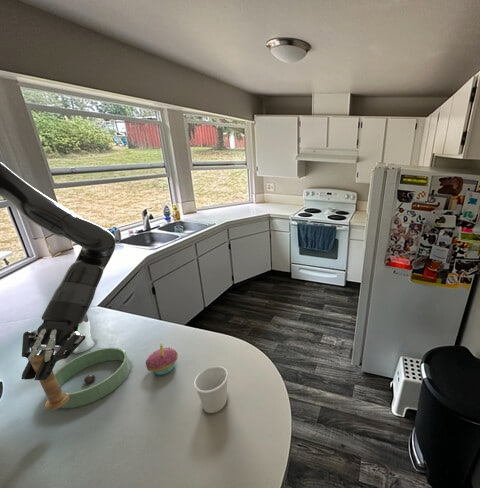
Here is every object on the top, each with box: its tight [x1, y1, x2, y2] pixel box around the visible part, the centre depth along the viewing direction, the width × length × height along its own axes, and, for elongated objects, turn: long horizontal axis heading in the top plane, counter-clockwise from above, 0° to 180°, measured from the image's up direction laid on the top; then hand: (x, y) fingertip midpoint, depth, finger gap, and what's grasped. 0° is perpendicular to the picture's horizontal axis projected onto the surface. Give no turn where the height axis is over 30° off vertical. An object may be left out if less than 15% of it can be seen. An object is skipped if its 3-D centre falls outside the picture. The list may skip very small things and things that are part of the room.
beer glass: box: [71, 313, 95, 354], centre depth 85 cm, size 7×7×15 cm
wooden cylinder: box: [30, 354, 69, 411], centre depth 59 cm, size 4×4×14 cm
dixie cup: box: [193, 365, 229, 414], centre depth 68 cm, size 8×8×10 cm
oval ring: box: [54, 347, 131, 409], centre depth 74 cm, size 17×17×6 cm
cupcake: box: [145, 343, 179, 376], centre depth 78 cm, size 9×8×12 cm
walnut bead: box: [83, 374, 96, 385], centre depth 74 cm, size 2×2×2 cm
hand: (34, 379), depth 56 cm, fingers closed on wooden cylinder, 2 cm apart
